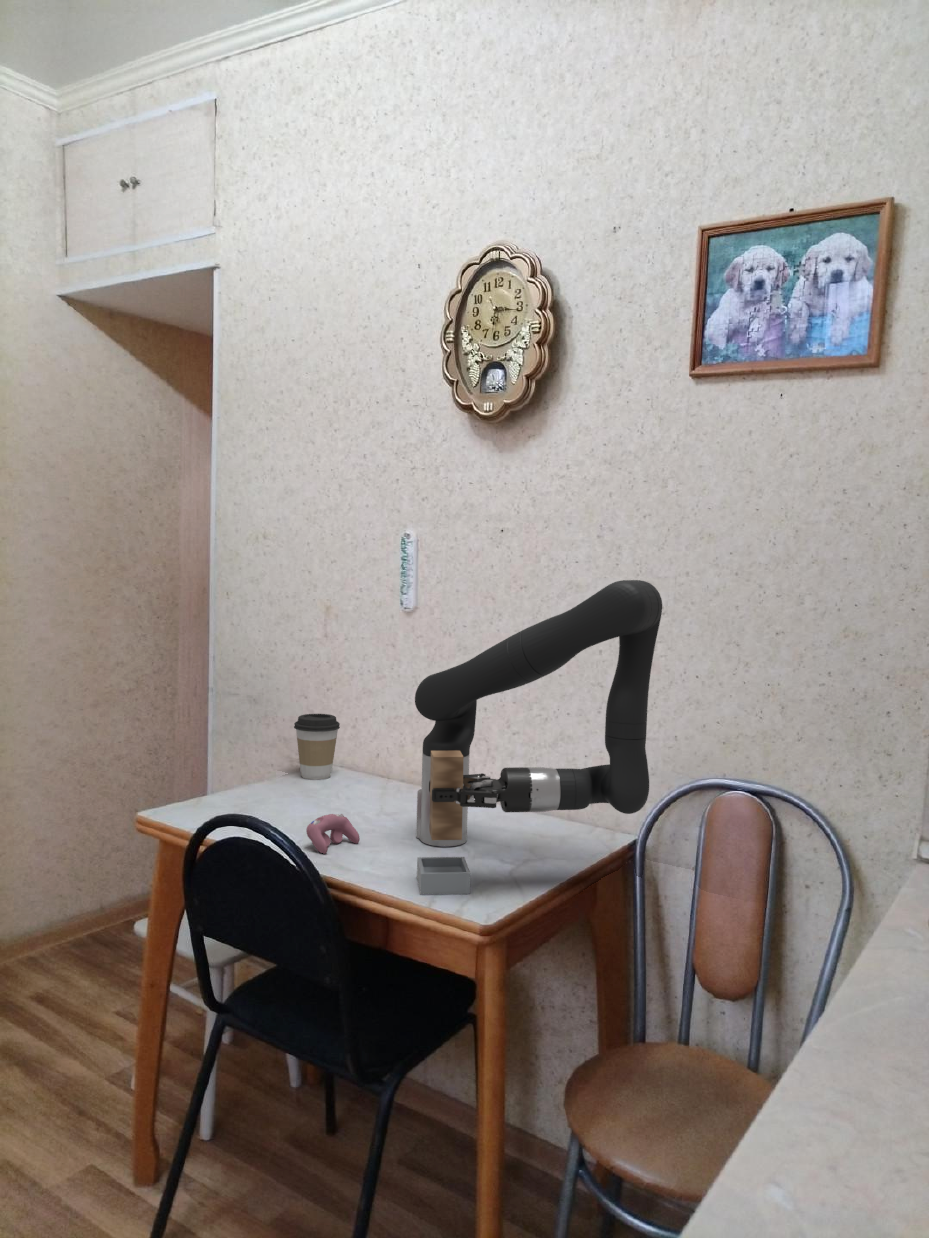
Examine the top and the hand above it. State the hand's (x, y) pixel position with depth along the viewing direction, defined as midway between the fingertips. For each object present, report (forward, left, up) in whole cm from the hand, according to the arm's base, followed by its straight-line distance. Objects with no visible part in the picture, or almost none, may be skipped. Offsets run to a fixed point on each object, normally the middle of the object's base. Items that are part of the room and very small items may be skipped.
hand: (430, 790), depth 152 cm
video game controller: (-27, +3, -17) cm, 32 cm away
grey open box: (+2, +2, -16) cm, 17 cm away
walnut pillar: (+2, +2, -8) cm, 8 cm away
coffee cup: (-70, +36, -17) cm, 80 cm away
